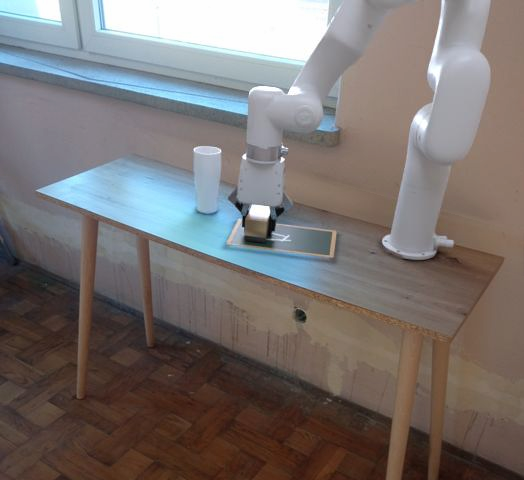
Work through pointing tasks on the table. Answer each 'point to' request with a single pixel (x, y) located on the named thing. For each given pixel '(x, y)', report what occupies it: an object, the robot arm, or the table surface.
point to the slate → (290, 240)
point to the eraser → (257, 224)
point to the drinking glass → (207, 177)
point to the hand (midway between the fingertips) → (258, 231)
